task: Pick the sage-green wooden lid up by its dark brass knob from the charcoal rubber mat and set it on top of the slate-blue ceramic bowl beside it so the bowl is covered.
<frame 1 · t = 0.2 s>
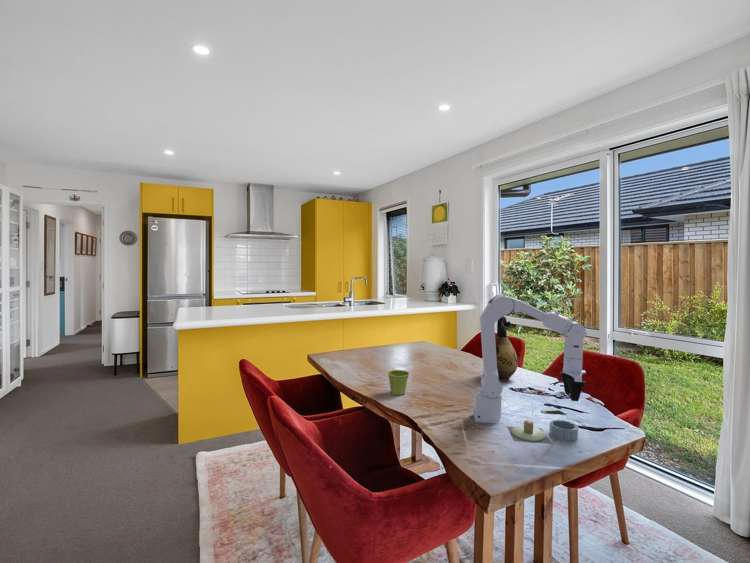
hand: (571, 397, 137), 10 cm above the table, tool pointing down, fingers open, 7 cm apart
lid: (528, 434, 129), point 1 cm above the table, touching mat
ceramic jug: (499, 378, 195), on the table
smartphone: (561, 419, 145), on the table
plant pot: (398, 393, 170), on the table
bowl: (563, 437, 128), on the table
mat: (528, 436, 129), on the table
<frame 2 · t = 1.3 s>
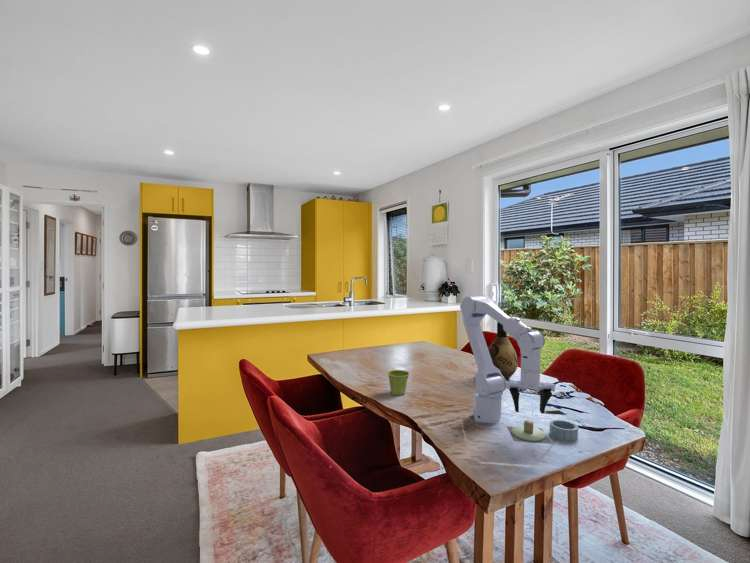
hand: (529, 411, 128), 8 cm above the table, tool pointing down, fingers open, 7 cm apart
nothing on the table moved.
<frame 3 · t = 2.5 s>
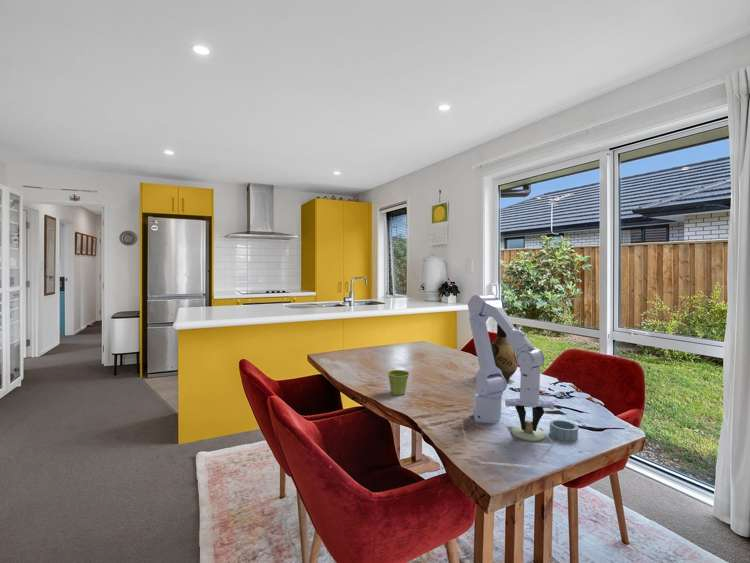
hand: (528, 429, 129), 2 cm above the table, tool pointing down, fingers closed on lid, 3 cm apart
lid: (528, 434, 129), point 1 cm above the table, touching gripper, mat
everything else where it was.
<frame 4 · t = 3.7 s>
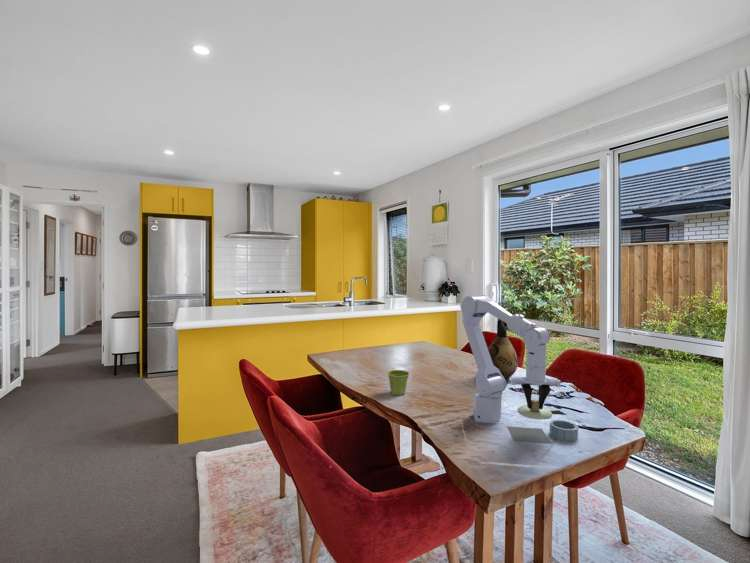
hand: (534, 407, 128), 9 cm above the table, tool pointing down, fingers closed on lid, 3 cm apart
lid: (534, 413, 128), point 7 cm above the table, touching gripper
everything else where it was.
when the fingers open (7 cm above the table, at t = 4.9 s): lid stays where it is, resting on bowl.
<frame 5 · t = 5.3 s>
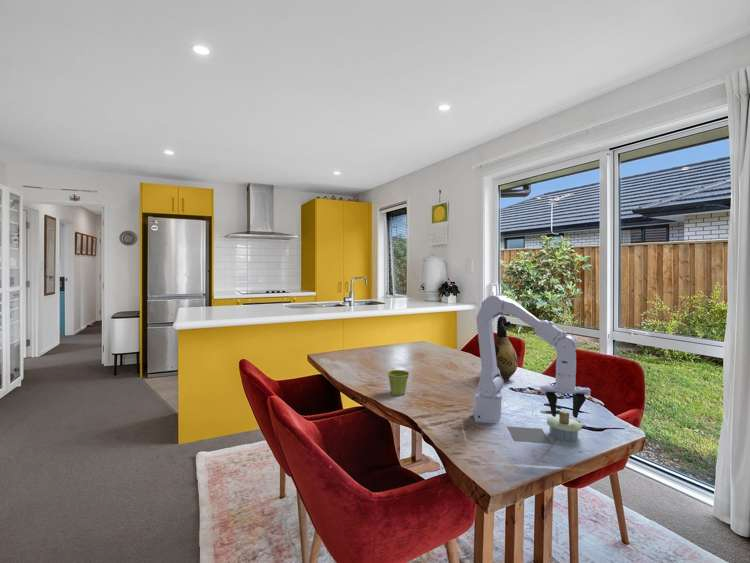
hand: (564, 416, 128), 7 cm above the table, tool pointing down, fingers open, 6 cm apart
lid: (563, 425, 128), point 4 cm above the table, touching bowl
everything else where it was.
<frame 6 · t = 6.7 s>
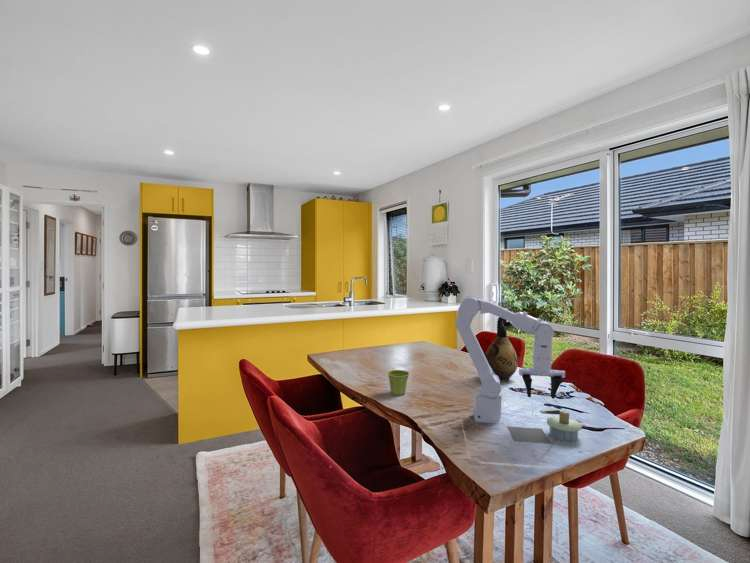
hand: (540, 397, 137), 10 cm above the table, tool pointing down, fingers open, 7 cm apart
nothing on the table moved.
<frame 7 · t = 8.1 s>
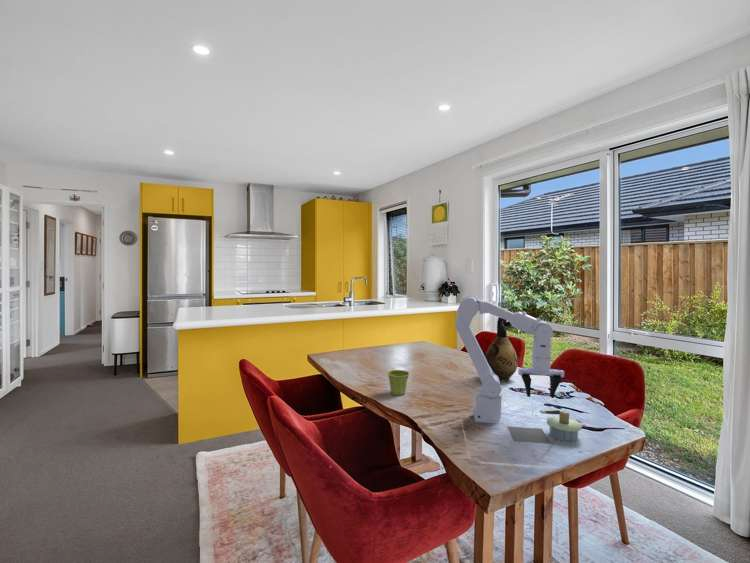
hand: (540, 396, 137), 10 cm above the table, tool pointing down, fingers open, 7 cm apart
nothing on the table moved.
at the end: lid 0.1 cm off-centre on the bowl, point 4.0 cm above the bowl's base; lid tilted 0°; the gripper is holding nothing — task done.
